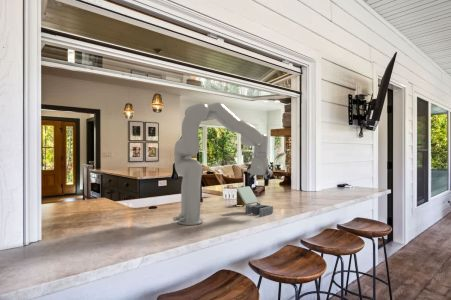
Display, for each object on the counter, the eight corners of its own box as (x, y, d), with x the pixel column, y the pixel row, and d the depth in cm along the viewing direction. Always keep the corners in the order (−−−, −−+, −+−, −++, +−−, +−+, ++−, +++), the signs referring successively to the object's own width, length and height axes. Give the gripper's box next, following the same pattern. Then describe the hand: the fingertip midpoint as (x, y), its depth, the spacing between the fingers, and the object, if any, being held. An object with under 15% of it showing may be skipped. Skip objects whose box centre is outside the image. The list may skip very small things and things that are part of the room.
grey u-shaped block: (261, 216, 162) (261, 207, 162) (245, 213, 169) (245, 205, 169) (272, 213, 171) (273, 204, 171) (257, 210, 178) (257, 202, 178)
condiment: (248, 205, 196) (248, 187, 196) (239, 207, 190) (239, 188, 190) (240, 204, 201) (240, 186, 201) (231, 205, 195) (231, 187, 196)
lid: (237, 187, 173) (236, 188, 174) (246, 204, 168) (245, 205, 169) (249, 186, 182) (248, 187, 183) (258, 202, 177) (257, 202, 178)
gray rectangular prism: (257, 215, 166) (257, 207, 166) (252, 214, 168) (252, 206, 168) (266, 213, 171) (266, 205, 171) (261, 212, 174) (261, 204, 174)
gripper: (244, 154, 173) (243, 184, 172) (269, 155, 161) (268, 186, 161) (252, 155, 178) (250, 183, 178) (276, 156, 167) (275, 186, 166)
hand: (259, 185), depth 169 cm, fingers open, 9 cm apart
